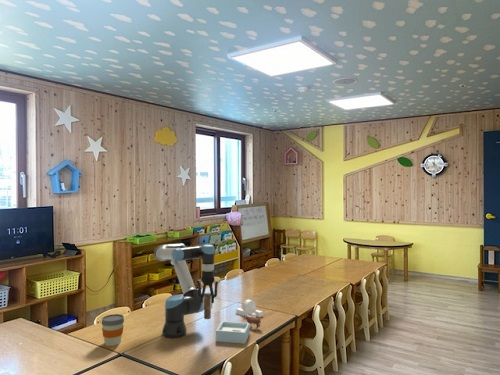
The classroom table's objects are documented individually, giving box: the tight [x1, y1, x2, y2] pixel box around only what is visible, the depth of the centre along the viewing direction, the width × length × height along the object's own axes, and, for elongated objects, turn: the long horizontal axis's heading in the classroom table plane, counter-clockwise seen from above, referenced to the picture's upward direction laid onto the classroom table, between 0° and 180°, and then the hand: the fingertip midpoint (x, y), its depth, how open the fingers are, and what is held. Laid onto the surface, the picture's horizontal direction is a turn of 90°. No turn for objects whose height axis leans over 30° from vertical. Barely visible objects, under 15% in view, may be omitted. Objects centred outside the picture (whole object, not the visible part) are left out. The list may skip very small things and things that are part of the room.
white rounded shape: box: [235, 299, 264, 318], centre depth 268 cm, size 18×10×11 cm, turn 45°
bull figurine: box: [243, 314, 261, 331], centre depth 243 cm, size 4×13×8 cm, turn 51°
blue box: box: [215, 320, 250, 344], centre depth 227 cm, size 18×16×6 cm
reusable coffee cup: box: [101, 313, 125, 347], centre depth 218 cm, size 13×13×15 cm
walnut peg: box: [203, 292, 212, 320], centre depth 225 cm, size 4×4×15 cm
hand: (207, 308), depth 225 cm, fingers closed on walnut peg, 4 cm apart
